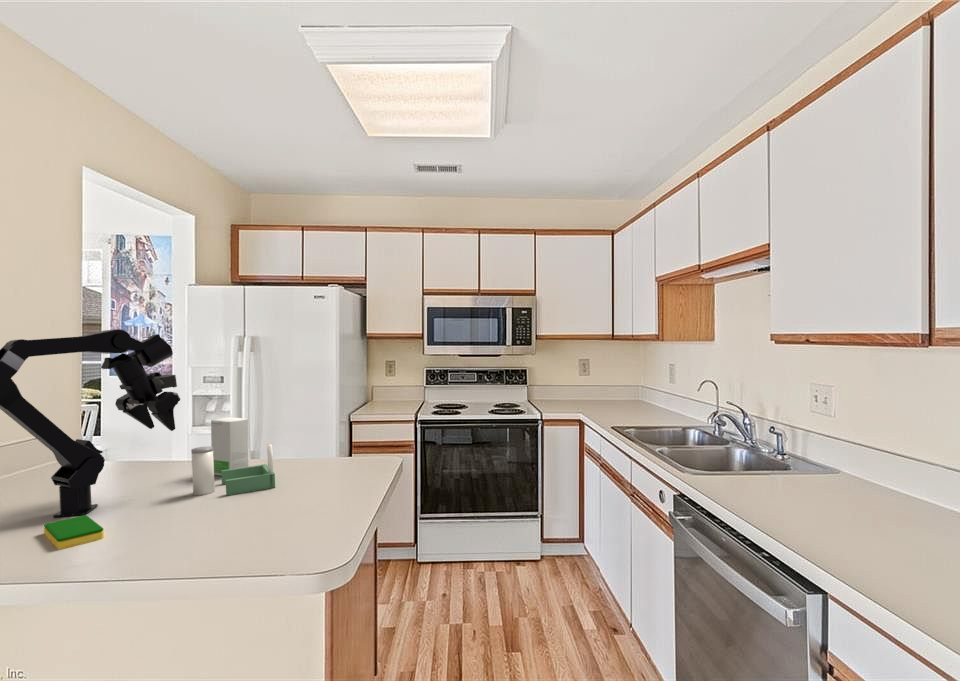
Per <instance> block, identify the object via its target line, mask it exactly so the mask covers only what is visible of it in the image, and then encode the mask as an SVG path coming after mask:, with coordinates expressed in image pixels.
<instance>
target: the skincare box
mask: <svg viewBox="0 0 960 681" xmlns="http://www.w3.org/2000/svg"><path fill="white" fill-rule="evenodd" d="M210 426H211V427H210V432H211V433H210V439H211V442H210V443H211V444H210V445H211V446H210V447H213V461H214V476H221V470H228V469H235V468H242V467H249V418H243V417H242V418H241V417H233V416H228V417H221V418H216V419H211V420H210Z"/></svg>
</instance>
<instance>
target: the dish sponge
mask: <svg viewBox="0 0 960 681" xmlns="http://www.w3.org/2000/svg"><path fill="white" fill-rule="evenodd" d="M43 532H44V536H45V537H46V538H47V539H48V540H49V541H50V542H51V543H52V544H53V546H54V547H55V548H56V549H57V550H63V549H68V548H72V547H75V546H80V545H83V544H88V543H91V542H96V541H99V540H103V539H104V538H105V535H104V528H103V527H102V526H101V525H100V524H98V523H97V522H96V521H95V520H93V519H92V518H91V517H89V516H88V515H87V514H82V515H78V516H75V517H70V518H66V519H61V520H56V521H52V522H48V523H45V524H43Z"/></svg>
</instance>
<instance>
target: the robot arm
mask: <svg viewBox="0 0 960 681" xmlns="http://www.w3.org/2000/svg"><path fill="white" fill-rule="evenodd" d="M126 352H130V353H128V354H127V353H126ZM74 353H91V354H106V355H107V354H108V355H110V354H118V355H117V356H114V357H104V361H103V363H102V364H101V366H100V368H101V369H102V370H112V369H113V371H114V373H115V374H116V375H117V378H118V379H119V381H120V383H121V384H120V385H119V389H121V390H125V392H126V393H125V394H124V395H122V396H120V397H118V398H116V400H115V406H116V408H117V410H118V411H122V413H123V414H126V415H128V416H129V417H130V418H132V419H134V420H136V421H137V422H139V423H140V424H142V425H143V426H145V427H146V428H148V429H150V430H152V429H153V428H155V425H154V421H153V419H152V416H153V417H154V418H155V419H156V420H157V421H158V422H160V423H161V424H162V426H164V427H165V428H167V429H168V430H169V431H171V432H173V431H174V430H175V429H176V422H175V416H174V414H175V413H174V409H175V407H176V405H178V404H179V402H180V401H181V398H180V395H179V394H178V392H175V391H163V390H164V389H170V388H176V387H178V385H177V384H178V383H177V376H176V374H161V373H160V372H159V371H158V372H157V371H156V372H155V371H153V372H149V374H148V372H147V371H146V369H145V368H144V367H148V368H153V367H154V366H156V365H158V364H160V363H162V362H163V361H165V360H167V359H168V358H171V357H173V355H174V354H173V353H174V352H173V349H172V346H171V345H170V344H169V343H168V342H167V341H166V340H165V339H163V338H162V337H161V335H160V334H158V333H156V334H152V335H150V336H149V337H147V338H146V339H144V340H142V341H140V340H138V339H135V338H134V337H132V336H131V335H130V334H129V333H128V332H127V330H124V329H119V328H117V329H105V330H101V331H96V332H93V333H89V334H85V335H81V336H80V335H79V336H69V337H67V336H66V337H57V338H56V337H55V338H54V337H53V338H41V339H11V340H9V341H6V343H5V344H4V345H3V346H2V347H1V348H0V410H1V411H2V412H3V413H4V414H6V415H7V416H8V417H10V418H11V419H12V421H14V422H16V423H17V424H18V425H19V426H20V427H22V428H23V429H24V430H25V431H27V432H28V433H29V434H30V435H31V436H33V437H34V438H35V439H37V440H38V441H39V442H40V443H41V444H42V445H44V447H46V448H48V449H49V450H50V451H51V452H52V454H53V455H54V458H55V459H56V461H57V463H58V464H59V466H60V467H59V468H58V469H57V470H56V471H55V473H53V474H52V476H51V478H50V479H51V481H52V482H53V484H54V486H58V491H59V492H58V493H59V508H60V509H59V511H58V512H56V513H54V514H53V516H52V517H53V518H62V517H63V518H64V517H70V516H83V515H87V514H88V513H90V512H92V511H93V510H95V509H96V508H97V507H99V504H98V503H95V504H92V485H93V486H94V485H96V484H97V480H98V478H99V474H100V473H101V471H102V470H104V466H105V457H104V456H103V455H102V453H104V451H102V450H100V449H98V448H97V447H96V446H95V445H94V444H93V443H92V442H91V441H90V440H86V439H79V438H77V439H75V440H74V439H73V438H71V437H70V436H69V435H68V434H67V433H65V431H63V430H62V429H61V428H60V427H58V426H57V425H56V424H55V423H54V422H53V421H51V420H50V419H49V418H48V417H47V416H46V415H44V413H42V412H41V411H39V409H37V408H36V407H35V406H34V405H33V404H32V403H30V402H29V401H28V400H27V399H25V397H23V395H22V394H21V393H22V392H20V390H19V387H18V386H17V384H16V383H15V382H14V380H13V379H12V378H13V377H14V376H15V375H16V374H17V372H19V370H20V369H21V367H22V366H23V364H24V363H25V361H26V360H27V359H28V358H30V357H40V356H41V357H42V356H52V355H62V354H63V355H64V354H74ZM149 411H150V412H151V414H150V412H149ZM151 415H152V416H151Z"/></svg>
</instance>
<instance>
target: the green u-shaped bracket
mask: <svg viewBox="0 0 960 681" xmlns="http://www.w3.org/2000/svg"><path fill="white" fill-rule="evenodd" d="M266 445H267V447H266V448H267V449H266V450H267V451H266V452H267V453H266V454H267V464H266V463H265V464H257V465H251V466H249V465H248V467H242V468H235V469H228V470H221V485H225V493H226V496H231V495H237V494H243V493H249V492H254V491H261V490H268V489H275V488H276V475H275V474H276V473H275V472H274V460H273V459H274V458H273V457H274V456H273V444H269V443H267V444H266Z"/></svg>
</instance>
